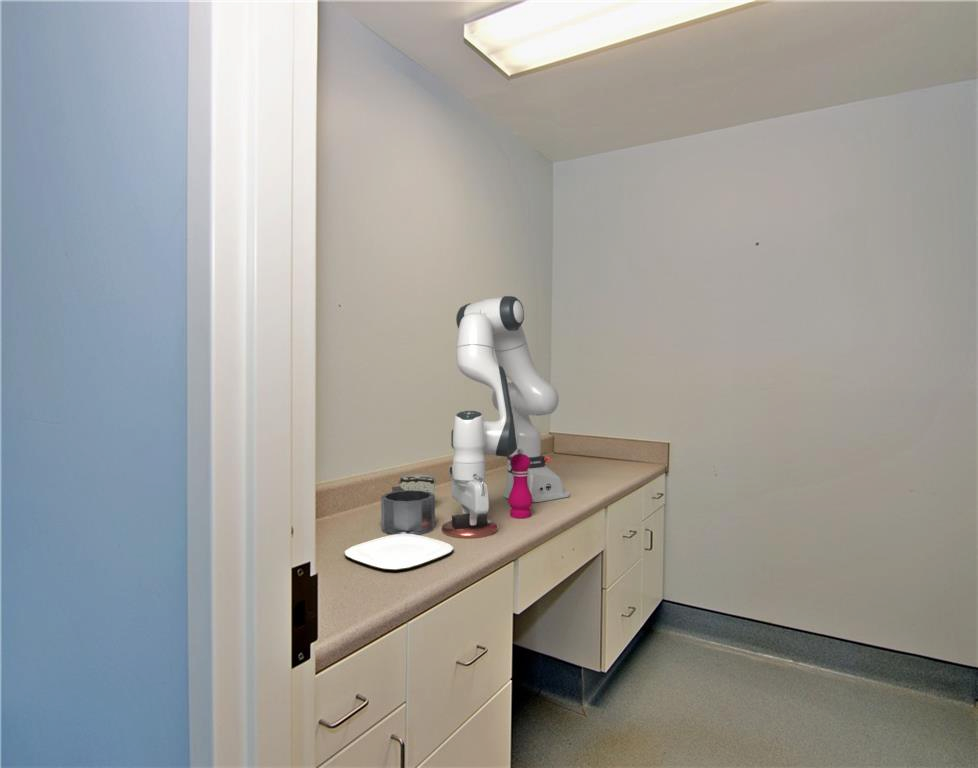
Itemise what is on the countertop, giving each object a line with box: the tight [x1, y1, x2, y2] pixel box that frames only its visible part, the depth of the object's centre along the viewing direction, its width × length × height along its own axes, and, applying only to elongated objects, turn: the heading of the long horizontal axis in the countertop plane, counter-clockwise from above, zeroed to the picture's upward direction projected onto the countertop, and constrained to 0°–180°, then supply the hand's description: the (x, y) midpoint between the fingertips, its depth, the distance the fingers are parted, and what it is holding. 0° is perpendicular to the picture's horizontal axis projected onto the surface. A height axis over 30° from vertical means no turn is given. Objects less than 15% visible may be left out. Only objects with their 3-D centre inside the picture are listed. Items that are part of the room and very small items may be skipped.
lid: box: [441, 513, 498, 540], centre depth 151 cm, size 15×15×4 cm
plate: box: [344, 534, 455, 571], centre depth 131 cm, size 22×22×2 cm
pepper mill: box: [507, 449, 534, 519], centre depth 165 cm, size 7×7×20 cm
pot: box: [380, 485, 436, 536], centre depth 156 cm, size 14×22×9 cm, turn 22°
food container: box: [397, 473, 438, 495], centre depth 176 cm, size 12×6×10 cm, turn 84°
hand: (469, 522), depth 151 cm, fingers closed on lid, 3 cm apart
